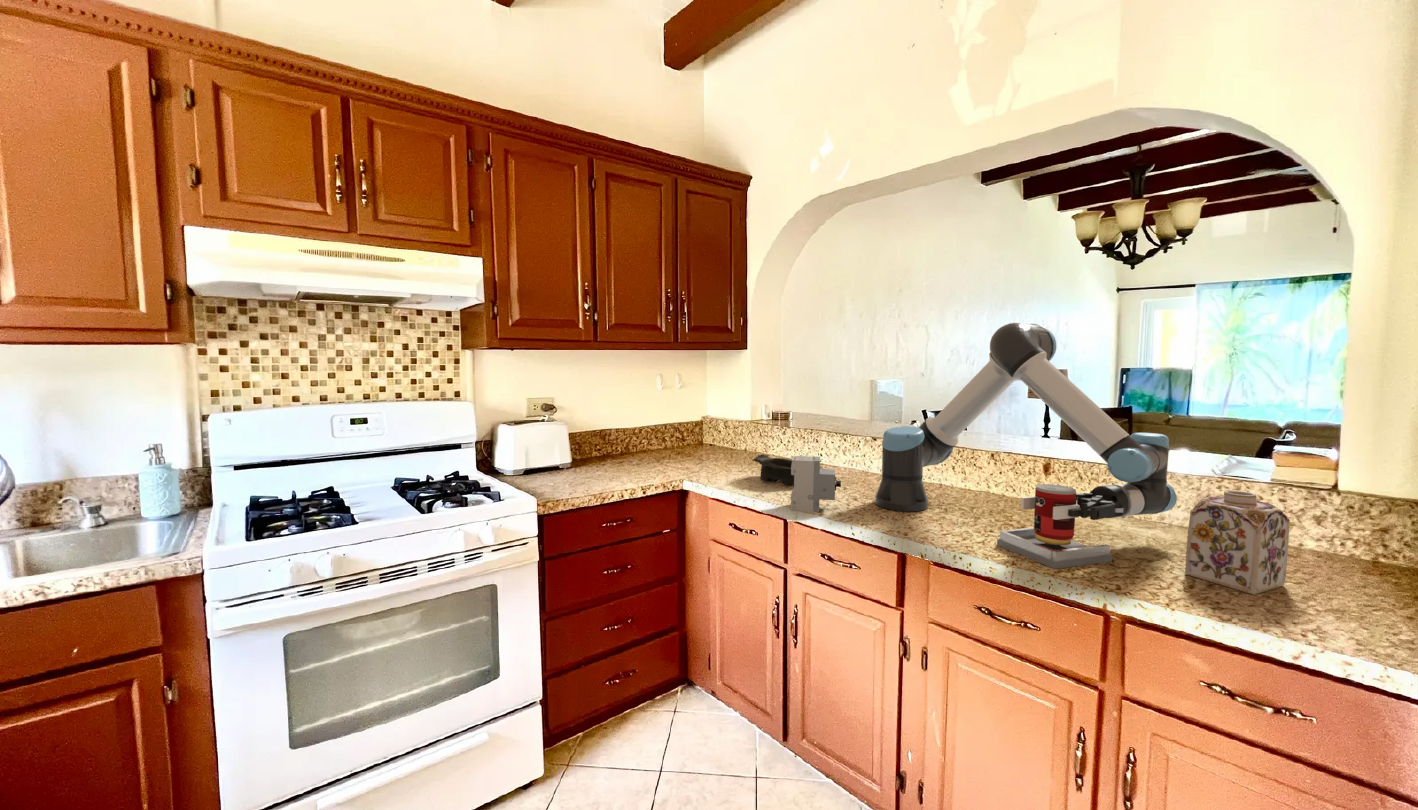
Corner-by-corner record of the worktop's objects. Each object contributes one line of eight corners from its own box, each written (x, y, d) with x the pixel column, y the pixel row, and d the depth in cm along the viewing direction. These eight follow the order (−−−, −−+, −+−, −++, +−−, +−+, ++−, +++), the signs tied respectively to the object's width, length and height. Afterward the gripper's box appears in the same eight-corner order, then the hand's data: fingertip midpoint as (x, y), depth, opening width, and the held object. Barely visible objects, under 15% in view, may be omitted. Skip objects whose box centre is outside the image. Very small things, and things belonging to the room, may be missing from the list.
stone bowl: (739, 481, 204) (740, 456, 204) (777, 476, 223) (778, 452, 223) (799, 491, 188) (800, 463, 188) (834, 484, 207) (835, 458, 207)
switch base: (1050, 539, 140) (1050, 525, 140) (1112, 561, 125) (1113, 545, 124) (996, 545, 136) (997, 530, 135) (1054, 568, 120) (1055, 552, 120)
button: (1051, 539, 134) (1052, 529, 134) (1078, 548, 128) (1078, 538, 127) (1027, 541, 132) (1028, 531, 132) (1053, 551, 126) (1054, 541, 126)
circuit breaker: (840, 513, 164) (841, 461, 162) (790, 510, 166) (791, 460, 165) (839, 506, 171) (840, 457, 170) (792, 504, 174) (792, 455, 172)
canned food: (1039, 527, 135) (1041, 482, 134) (1078, 535, 130) (1080, 487, 129) (1028, 534, 130) (1030, 487, 129) (1069, 542, 124) (1071, 493, 123)
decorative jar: (1254, 596, 107) (1262, 502, 105) (1182, 574, 117) (1188, 489, 116) (1287, 586, 111) (1295, 496, 110) (1215, 566, 122) (1221, 483, 120)
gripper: (1159, 529, 125) (1078, 538, 118) (1074, 505, 144) (1001, 512, 138) (1161, 495, 124) (1080, 503, 118) (1076, 476, 144) (1002, 482, 138)
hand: (1037, 508), depth 128 cm, fingers closed on canned food, 8 cm apart
